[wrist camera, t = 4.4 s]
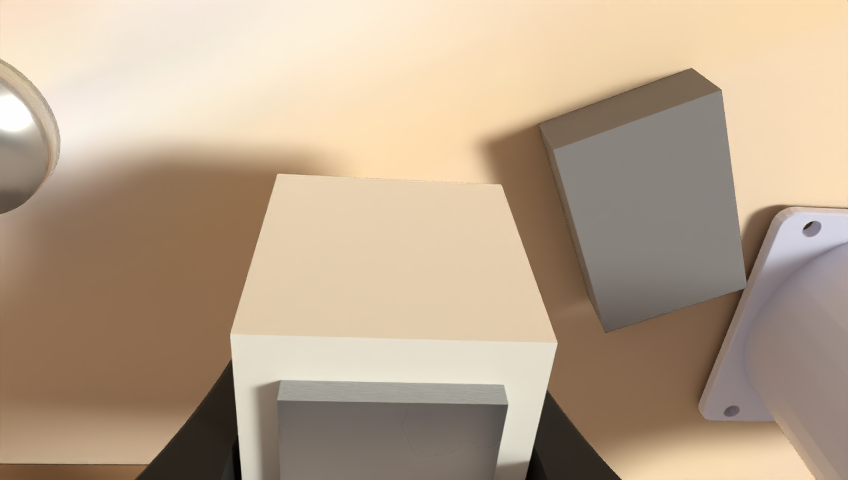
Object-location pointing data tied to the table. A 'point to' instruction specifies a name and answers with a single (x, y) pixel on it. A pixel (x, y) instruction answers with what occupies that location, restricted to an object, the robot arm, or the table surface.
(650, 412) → the table surface
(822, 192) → the table surface
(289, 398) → the housing
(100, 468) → the stand
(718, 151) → the block
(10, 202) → the round metal disc
